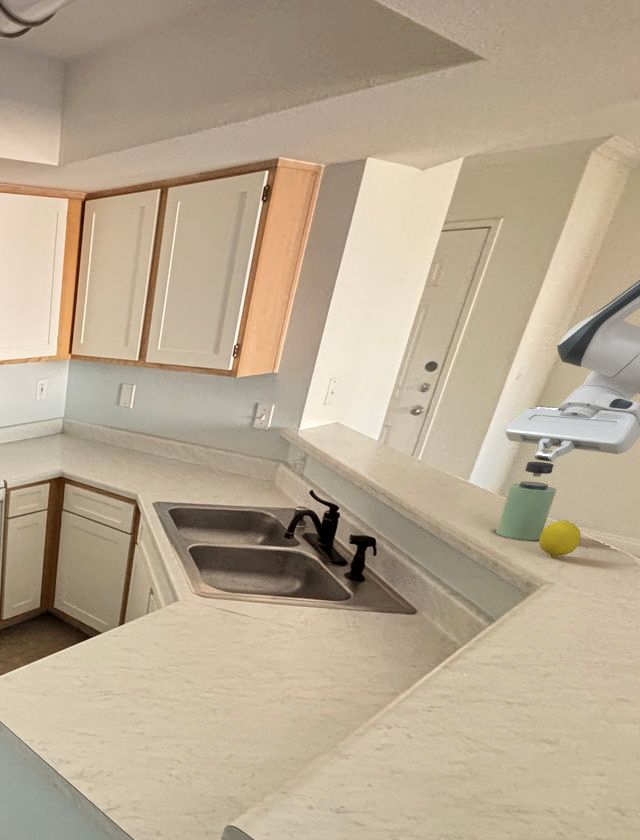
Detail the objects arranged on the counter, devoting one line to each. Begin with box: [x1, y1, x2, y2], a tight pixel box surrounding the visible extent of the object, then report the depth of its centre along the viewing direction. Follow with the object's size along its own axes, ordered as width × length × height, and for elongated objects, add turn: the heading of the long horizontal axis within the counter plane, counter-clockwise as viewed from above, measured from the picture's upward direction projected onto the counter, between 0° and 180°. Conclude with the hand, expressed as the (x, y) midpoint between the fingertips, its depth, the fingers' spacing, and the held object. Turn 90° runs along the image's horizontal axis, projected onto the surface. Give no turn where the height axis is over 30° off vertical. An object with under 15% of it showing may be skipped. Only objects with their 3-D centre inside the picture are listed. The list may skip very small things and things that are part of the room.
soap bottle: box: [495, 480, 557, 541], centre depth 130 cm, size 7×7×12 cm
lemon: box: [538, 519, 581, 559], centre depth 118 cm, size 6×6×8 cm
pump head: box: [524, 461, 554, 478], centre depth 126 cm, size 4×7×3 cm, turn 153°
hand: (543, 459), depth 127 cm, fingers closed
